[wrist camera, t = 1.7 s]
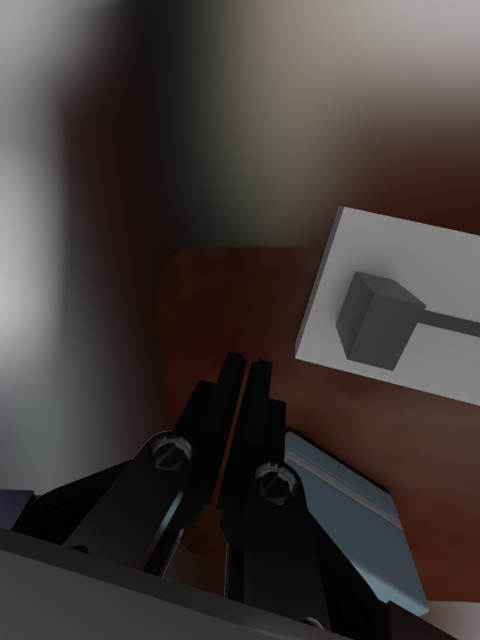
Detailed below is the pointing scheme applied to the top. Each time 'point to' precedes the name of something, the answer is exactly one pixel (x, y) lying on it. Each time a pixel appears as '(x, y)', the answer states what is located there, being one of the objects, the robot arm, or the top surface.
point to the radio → (358, 523)
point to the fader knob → (377, 320)
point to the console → (419, 279)
